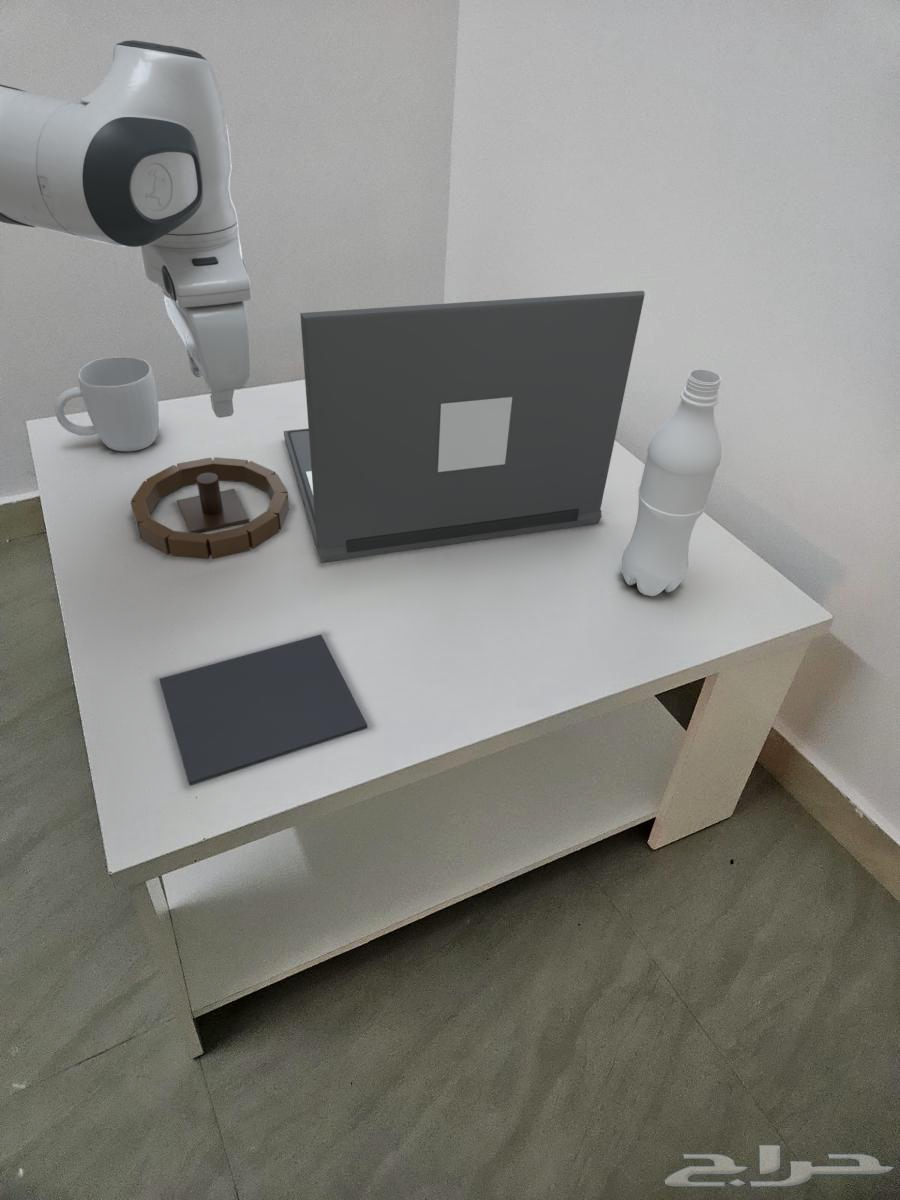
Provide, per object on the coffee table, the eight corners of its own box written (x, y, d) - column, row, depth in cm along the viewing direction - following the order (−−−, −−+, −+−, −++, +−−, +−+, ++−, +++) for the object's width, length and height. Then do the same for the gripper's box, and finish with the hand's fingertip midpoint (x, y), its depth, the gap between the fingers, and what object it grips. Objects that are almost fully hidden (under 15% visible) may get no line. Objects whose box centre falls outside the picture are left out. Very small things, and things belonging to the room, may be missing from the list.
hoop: (151, 573, 89) (147, 555, 88) (125, 490, 101) (121, 473, 100) (306, 537, 96) (304, 521, 94) (264, 463, 107) (262, 447, 106)
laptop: (522, 416, 120) (546, 213, 102) (600, 523, 101) (647, 294, 82) (284, 441, 112) (264, 223, 93) (319, 563, 92) (302, 317, 74)
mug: (161, 420, 115) (147, 352, 108) (169, 451, 108) (155, 381, 102) (64, 432, 111) (44, 363, 104) (67, 466, 105) (45, 394, 98)
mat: (189, 785, 69) (189, 782, 69) (160, 681, 77) (159, 678, 77) (367, 727, 74) (367, 724, 74) (321, 636, 83) (321, 634, 83)
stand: (190, 535, 95) (182, 499, 92) (177, 504, 100) (170, 468, 96) (249, 522, 97) (244, 487, 94) (234, 492, 102) (229, 457, 99)
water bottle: (604, 577, 93) (650, 371, 76) (644, 554, 96) (696, 353, 80) (654, 611, 89) (714, 401, 72) (693, 585, 92) (759, 380, 76)
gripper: (135, 222, 81) (159, 356, 89) (180, 296, 67) (203, 445, 76) (200, 218, 83) (217, 348, 92) (256, 288, 69) (270, 433, 78)
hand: (211, 393), depth 84 cm, fingers open, 8 cm apart
